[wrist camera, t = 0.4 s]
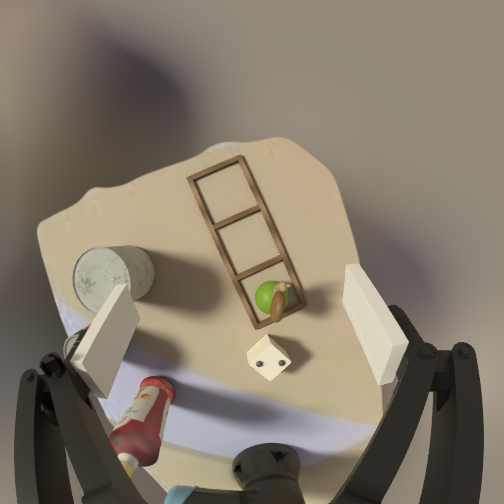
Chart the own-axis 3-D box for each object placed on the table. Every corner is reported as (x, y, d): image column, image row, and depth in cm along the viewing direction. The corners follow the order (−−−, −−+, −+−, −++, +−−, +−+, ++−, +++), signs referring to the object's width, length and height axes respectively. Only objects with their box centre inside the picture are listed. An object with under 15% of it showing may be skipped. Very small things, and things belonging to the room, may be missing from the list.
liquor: (157, 365, 46) (104, 468, 18) (185, 391, 46) (158, 504, 18) (133, 384, 45) (76, 480, 17) (160, 409, 46) (123, 513, 18)
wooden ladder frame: (306, 304, 48) (307, 305, 47) (255, 328, 47) (255, 329, 46) (240, 155, 46) (240, 154, 45) (186, 178, 45) (186, 177, 44)
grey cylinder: (119, 235, 44) (87, 233, 32) (164, 262, 45) (142, 269, 33) (98, 281, 44) (63, 293, 32) (140, 309, 45) (115, 330, 33)
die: (285, 351, 48) (291, 362, 42) (265, 369, 47) (269, 382, 42) (266, 333, 47) (271, 344, 42) (246, 352, 47) (248, 364, 42)
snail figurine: (287, 274, 47) (307, 285, 35) (282, 310, 47) (300, 332, 35) (256, 271, 47) (266, 281, 35) (251, 308, 47) (259, 329, 35)
